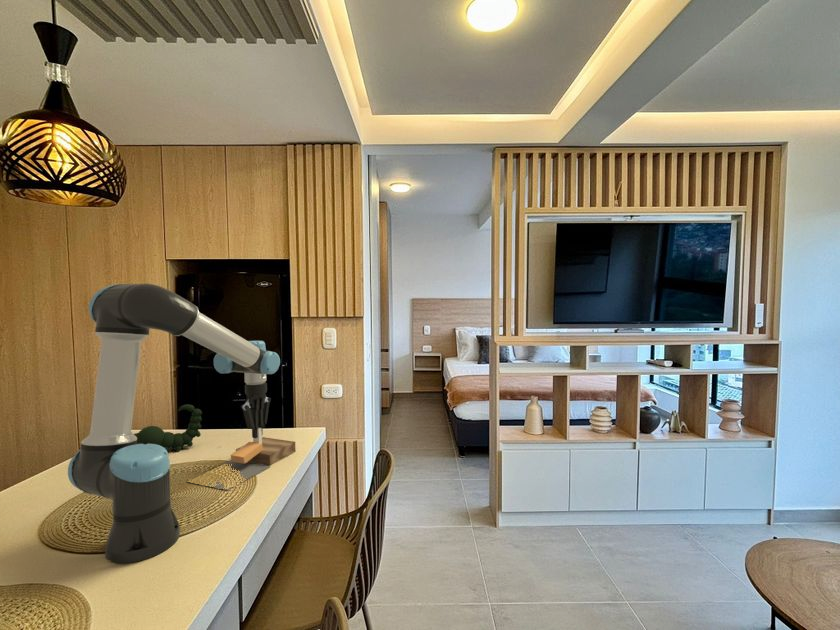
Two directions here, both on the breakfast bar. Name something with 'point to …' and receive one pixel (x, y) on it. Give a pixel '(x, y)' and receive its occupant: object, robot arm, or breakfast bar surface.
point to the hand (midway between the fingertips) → (257, 445)
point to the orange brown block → (246, 452)
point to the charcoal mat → (244, 470)
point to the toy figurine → (169, 439)
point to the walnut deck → (273, 451)
